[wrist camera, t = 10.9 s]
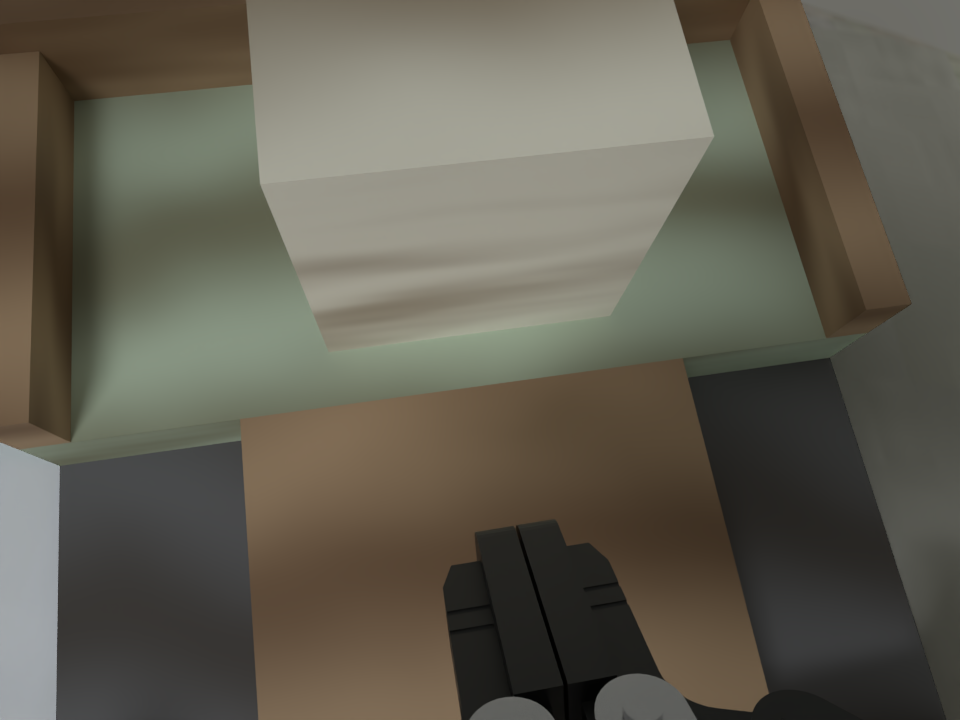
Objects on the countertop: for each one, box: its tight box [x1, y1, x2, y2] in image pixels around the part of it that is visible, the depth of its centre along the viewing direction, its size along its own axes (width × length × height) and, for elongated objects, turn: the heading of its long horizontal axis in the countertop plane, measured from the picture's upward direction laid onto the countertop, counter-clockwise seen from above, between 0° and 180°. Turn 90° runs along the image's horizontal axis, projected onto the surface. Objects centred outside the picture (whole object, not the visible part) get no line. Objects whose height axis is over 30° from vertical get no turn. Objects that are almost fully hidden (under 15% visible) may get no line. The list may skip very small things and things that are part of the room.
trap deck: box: [0, 0, 946, 720], centre depth 18 cm, size 31×22×6 cm
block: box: [246, 0, 714, 352], centre depth 17 cm, size 8×8×8 cm
